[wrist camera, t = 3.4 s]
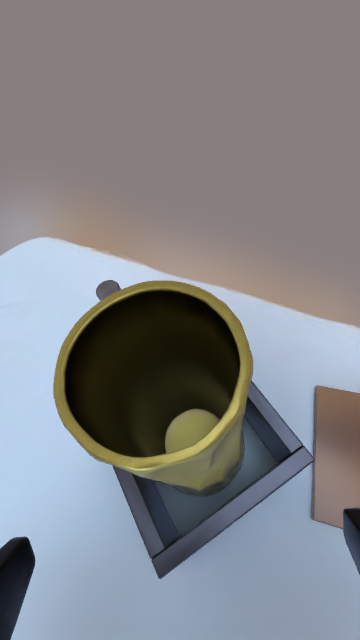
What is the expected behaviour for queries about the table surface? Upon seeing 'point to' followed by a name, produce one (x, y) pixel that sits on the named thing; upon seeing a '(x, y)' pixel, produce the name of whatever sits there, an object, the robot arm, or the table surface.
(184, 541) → the holder
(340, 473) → the cork pad
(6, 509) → the table surface
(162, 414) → the vase
